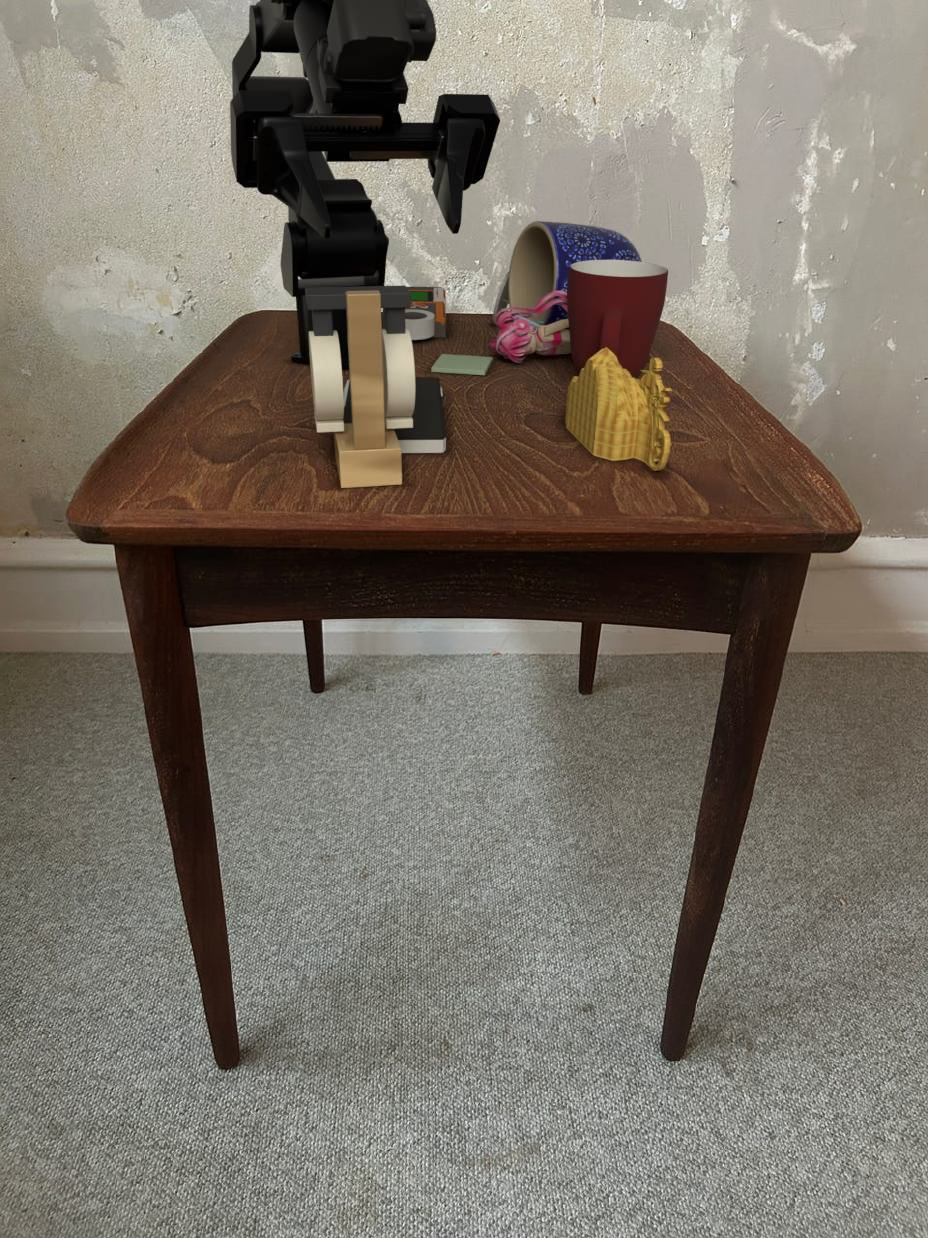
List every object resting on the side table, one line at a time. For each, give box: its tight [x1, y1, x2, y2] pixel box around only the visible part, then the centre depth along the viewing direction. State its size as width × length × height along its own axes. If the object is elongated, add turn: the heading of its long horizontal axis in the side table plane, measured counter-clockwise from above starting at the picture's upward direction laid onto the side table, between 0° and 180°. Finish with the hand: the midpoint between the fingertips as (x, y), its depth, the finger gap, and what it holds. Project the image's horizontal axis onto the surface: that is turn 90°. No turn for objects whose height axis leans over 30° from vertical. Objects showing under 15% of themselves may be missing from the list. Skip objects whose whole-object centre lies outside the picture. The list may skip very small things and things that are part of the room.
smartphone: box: [343, 376, 447, 454], centre depth 68 cm, size 8×1×15 cm
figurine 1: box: [492, 271, 511, 326], centre depth 94 cm, size 6×6×8 cm
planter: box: [508, 220, 643, 330], centre depth 89 cm, size 11×11×11 cm
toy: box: [486, 290, 571, 364], centre depth 83 cm, size 7×6×15 cm
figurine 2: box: [564, 347, 673, 472], centre depth 62 cm, size 4×12×7 cm, turn 13°
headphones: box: [305, 285, 416, 433], centre depth 57 cm, size 6×6×9 cm
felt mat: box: [430, 353, 494, 376], centre depth 82 cm, size 5×5×1 cm
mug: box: [567, 260, 669, 379], centre depth 73 cm, size 10×8×10 cm
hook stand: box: [333, 290, 403, 489], centre depth 56 cm, size 6×4×12 cm, turn 11°
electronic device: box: [381, 285, 447, 341], centre depth 95 cm, size 7×3×15 cm
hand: (394, 230), depth 60 cm, fingers open, 9 cm apart
